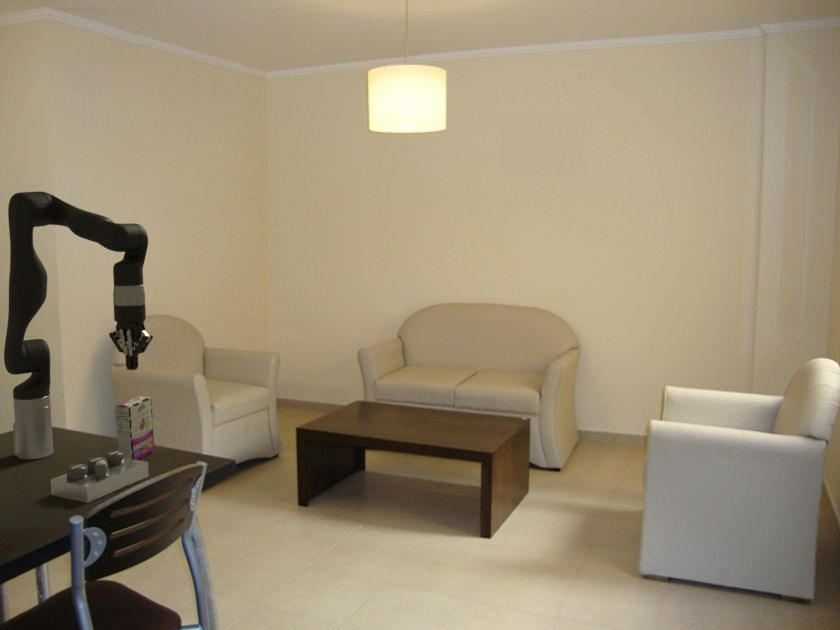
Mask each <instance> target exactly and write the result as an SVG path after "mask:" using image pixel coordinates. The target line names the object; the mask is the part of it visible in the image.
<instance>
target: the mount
mask: <svg viewBox="0 0 840 630" xmlns="http://www.w3.org/2000/svg"><path fill="white" fill-rule="evenodd" d="M149 476H150V475H149V461H145V460H141V459H140V460H134V459H129V458H125V462H124V463H122V464H120V465H113V466H110V465H108V477H105V478H96V477H95V473H90V472H88V477H86V478H84V479H81V480H68V479H67V474H66V473H64V474H62V475H58V476H56V477H53V478H51V479H50V490H51V493H50V494H51V496H55V497H59V498H64V499H69V500H72V501H77V502H81V503H82V502H83V503H85V504H88V503H91V502H93V501H95V500H98V499H100V498H102V497H105V496H106V495H109V494H111V493H114V492H115V491H119V490H121V489H123V488H125V486H126V487H127V485H128V486H131V485H133V484H134V483H135V484H136V482H137V483H138V482H139V481H142V480H144V479H147V478H148V477H149Z"/></svg>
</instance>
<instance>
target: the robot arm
mask: <svg viewBox="0 0 840 630" xmlns="http://www.w3.org/2000/svg"><path fill="white" fill-rule="evenodd" d="M7 210H8V211H7V217H8V231H9V245H10V246H9V250H10V251H9V275H8V277H9V278H8V312H7V313H8V315H7V316H8V319H7V326H6V334H5V342H4V347H3V348H4V350H3V362H4V368H5V370H6V371H7V373H8V374H10V375H17V376H18V375H23V374H24V375H25V374H31V375H30V376H29V377H28V378H27V379H26V380H24V381H23V382H21V383H19V384H18V385H16V386H14V387H13V389H12V396H13V411H14V414H13V415H14V422H13V423H12V428H13V429H12V430H13V431H12V432H13V447H14V456H17V458H18V459H20V460H38V459H42V458H46V457H49V456H51V455H53V454H54V442H53V441H54V440H53V439H54V438H53V424H52V405H51V404H52V403H51V390H50V389H51V352H50V348H49V344H48V342H46V340H44V339H42V338H33V339H26V340H25V335H26V331H27V328H28V327H29V325H30V323H31V322H32V320H33V319H34V318H35V316H36V315H37V314H38V312H39V311H40V309H41V308H42V306H43V305H44V303H45V301H46V298H47V292H48V272H47V270H46V267H45V266H44V264H43V262H42V261H41V259H40V257H39V256H38V253H36V249H35V247H34V228H37V227H47V226H49V225H52V226H61V227H66V228H68V229H69V230H70V231H71V233H73V234H74V235H75V236H77V237H79V238H81V239H85V240H87V241H91V242H94V243H95V244H96V243H97V244H98V245H100V246H101V247H103V248H105V249H107V250H109V251H112V252H116V253H124V254H123V256H122V257H123V258H122V259H121V260H120V261H117V262H115V263H114V264H113V267H112V273H113V293H112V297H113V298H112V300H113V318H114V319H113V320H114V322H116V325H115V330H114V331H111V332H109V334H108V336H109V338H110V339H111V341H112V342H113V345H114V346H115V348H116V349H117V351H118V352H119V353H123V354H124V357H125V366H126V370H128V371H135V370H138V367H139V355H140V354H144V353H145V352H146V350H147V348H148V347H149V345H150V344H151V342H152V340H153V339H154V337H153V334H148V332H147V331H146V326H145V321H146V319H147V318H146V316H147V313H146V311H147V310H146V295H145V294H146V292H145V288H144V271H143V270H144V269H143V268H144V265H145V260H146V256H147V251H148V248H149V247H148V246H149V237H148V232H147V230H146V229H145V228H144V226H142V225H141V224H139V223H135V222H134V223H133V222H132V223H116V222H114V221H113V220H112V219H111V218H109V217H108V216H104V215H101V214H98V213H96V212H95V213H94V212H91V211H88V210H84V209H81V208H78V207H76V206H75V205H72V204H70V203H69V202H66V201H64V200H63V199H60V198H59V197H57V196H55V195H53V194H51V193H49V192H46V191H23V192H22V191H21V192H16V193H14V194H13V195H12V196H11V197H10V198H9V202H8V208H7Z"/></svg>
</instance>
